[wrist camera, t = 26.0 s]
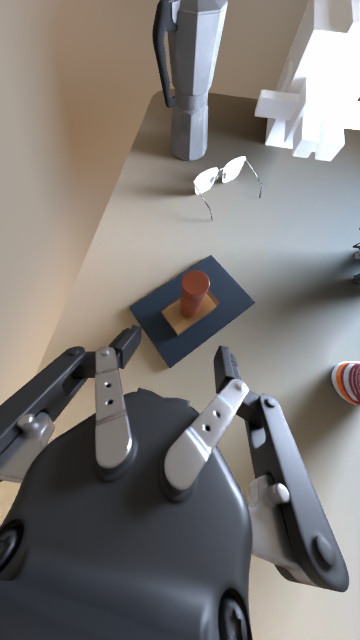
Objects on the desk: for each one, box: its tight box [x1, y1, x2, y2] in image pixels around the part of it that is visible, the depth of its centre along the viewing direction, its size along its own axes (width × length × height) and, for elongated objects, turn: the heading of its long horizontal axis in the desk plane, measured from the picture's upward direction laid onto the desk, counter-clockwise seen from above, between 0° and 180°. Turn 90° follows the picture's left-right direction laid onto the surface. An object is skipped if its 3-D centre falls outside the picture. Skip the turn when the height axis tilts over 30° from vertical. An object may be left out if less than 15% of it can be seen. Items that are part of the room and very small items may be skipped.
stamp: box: [162, 270, 216, 336], centre depth 17 cm, size 7×4×10 cm, turn 126°
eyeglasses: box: [193, 156, 262, 221], centre depth 29 cm, size 14×8×4 cm, turn 121°
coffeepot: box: [153, 0, 228, 161], centre depth 26 cm, size 15×9×18 cm, turn 136°
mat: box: [129, 255, 255, 368], centre depth 23 cm, size 18×12×1 cm, turn 126°
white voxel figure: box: [255, 0, 360, 161], centre depth 29 cm, size 15×25×28 cm
